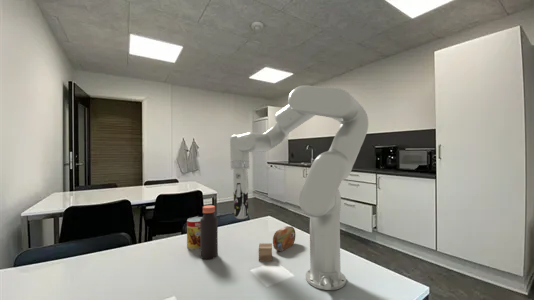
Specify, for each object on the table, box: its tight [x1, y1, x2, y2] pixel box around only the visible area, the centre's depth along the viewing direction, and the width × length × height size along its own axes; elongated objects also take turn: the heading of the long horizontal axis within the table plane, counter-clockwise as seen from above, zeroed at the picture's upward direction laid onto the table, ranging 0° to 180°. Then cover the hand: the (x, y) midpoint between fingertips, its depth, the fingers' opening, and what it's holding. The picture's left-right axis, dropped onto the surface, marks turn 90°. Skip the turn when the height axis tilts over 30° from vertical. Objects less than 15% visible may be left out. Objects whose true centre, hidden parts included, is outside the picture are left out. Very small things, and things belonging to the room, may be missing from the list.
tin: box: [272, 226, 296, 252], centre depth 103 cm, size 15×3×8 cm, turn 143°
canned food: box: [186, 216, 203, 250], centre depth 106 cm, size 8×8×12 cm
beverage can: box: [233, 191, 250, 220], centre depth 94 cm, size 6×6×12 cm
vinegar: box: [199, 204, 219, 260], centre depth 95 cm, size 7×7×20 cm
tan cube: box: [258, 242, 273, 262], centre depth 92 cm, size 5×5×5 cm
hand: (241, 210), depth 94 cm, fingers closed on beverage can, 3 cm apart
